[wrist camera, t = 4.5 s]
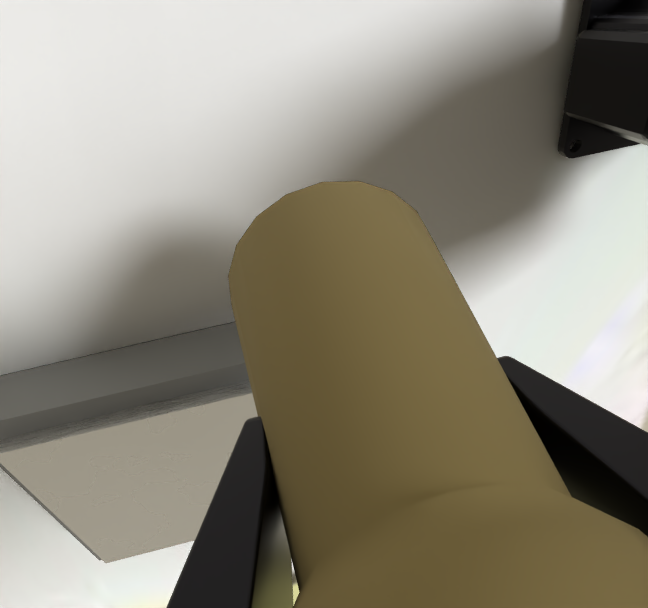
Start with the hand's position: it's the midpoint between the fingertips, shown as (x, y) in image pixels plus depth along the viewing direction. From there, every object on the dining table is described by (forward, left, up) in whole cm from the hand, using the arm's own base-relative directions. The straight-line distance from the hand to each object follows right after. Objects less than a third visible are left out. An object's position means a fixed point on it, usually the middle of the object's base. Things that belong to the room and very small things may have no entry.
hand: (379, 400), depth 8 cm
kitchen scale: (+9, +11, -11) cm, 18 cm away
